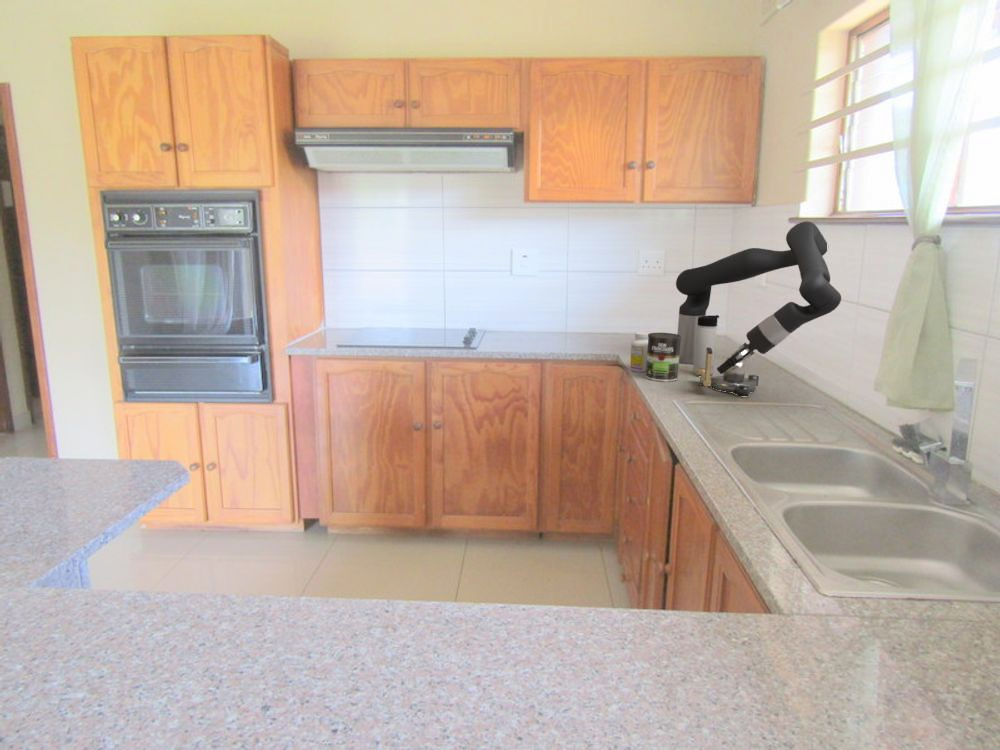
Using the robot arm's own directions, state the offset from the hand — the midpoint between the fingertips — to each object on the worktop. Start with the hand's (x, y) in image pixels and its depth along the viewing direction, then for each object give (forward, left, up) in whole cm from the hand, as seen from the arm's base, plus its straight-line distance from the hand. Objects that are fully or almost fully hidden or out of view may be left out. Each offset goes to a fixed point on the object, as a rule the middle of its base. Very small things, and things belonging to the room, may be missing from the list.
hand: (719, 371), depth 191 cm
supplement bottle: (-19, -30, -8) cm, 36 cm away
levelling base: (-11, 0, -7) cm, 13 cm away
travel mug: (-24, -10, -8) cm, 27 cm away
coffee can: (-13, -20, -8) cm, 25 cm away
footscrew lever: (-5, -5, -4) cm, 9 cm away
